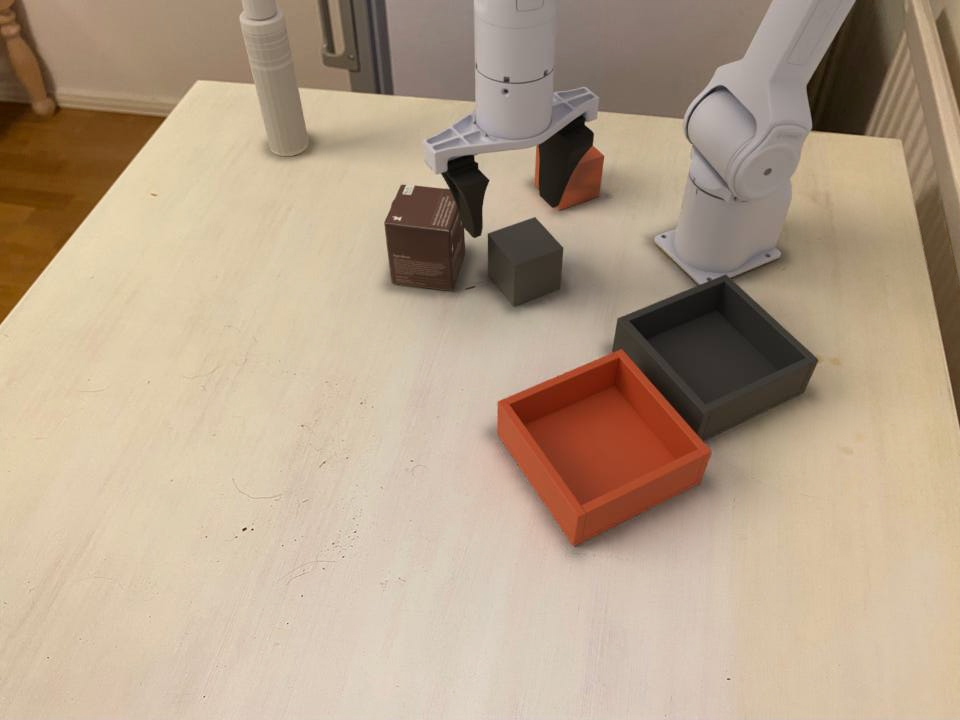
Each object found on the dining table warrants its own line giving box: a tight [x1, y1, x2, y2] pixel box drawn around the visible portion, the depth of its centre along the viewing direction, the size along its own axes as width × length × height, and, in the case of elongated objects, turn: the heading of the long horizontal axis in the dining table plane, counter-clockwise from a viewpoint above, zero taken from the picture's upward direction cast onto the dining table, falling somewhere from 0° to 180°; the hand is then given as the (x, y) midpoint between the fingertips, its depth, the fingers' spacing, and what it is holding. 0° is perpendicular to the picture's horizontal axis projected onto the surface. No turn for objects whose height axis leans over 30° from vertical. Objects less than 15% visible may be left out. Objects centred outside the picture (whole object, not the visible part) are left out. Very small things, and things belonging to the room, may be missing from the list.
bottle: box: [238, 0, 310, 157], centre depth 84 cm, size 4×4×20 cm
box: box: [383, 184, 466, 291], centre depth 75 cm, size 6×6×7 cm
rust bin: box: [496, 349, 712, 547], centre depth 61 cm, size 11×11×4 cm
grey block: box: [487, 216, 564, 308], centre depth 74 cm, size 5×5×5 cm
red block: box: [533, 145, 605, 211], centre depth 84 cm, size 5×5×5 cm
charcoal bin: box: [611, 274, 820, 442], centre depth 67 cm, size 11×11×4 cm
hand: (511, 215), depth 68 cm, fingers open, 7 cm apart
